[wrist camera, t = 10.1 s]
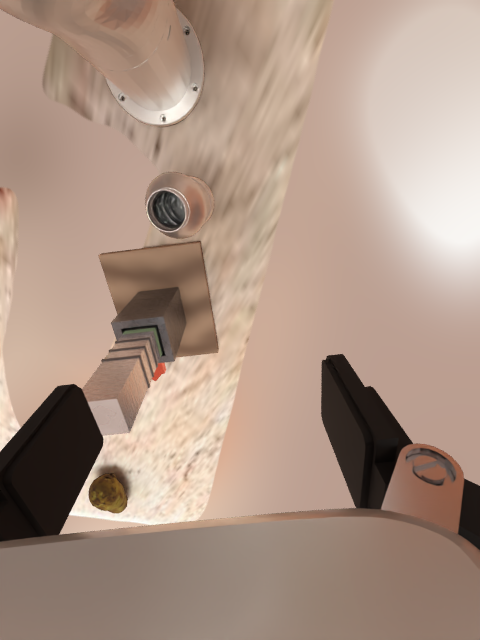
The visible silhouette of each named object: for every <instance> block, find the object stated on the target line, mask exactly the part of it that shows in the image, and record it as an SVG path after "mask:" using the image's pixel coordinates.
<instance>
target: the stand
mask: <svg viewBox="0 0 480 640" xmlns="http://www.w3.org/2000/svg"><path fill="white" fill-rule="evenodd" d="M99 259H100V262H101V265H102V268H103V271H104V274H105V277H106V280H107V284H108V286H109V290H110V293H111V296H112V299H113V302H114V305H115V308H116V311H117V314H118V315H117V316H116V318H115V319H114V320H113V321H112V322H111V324H112V327H113V330H114V333H115V336H116V339H117V341H118V340H119V338H120V337H121V336H122V334H123V333H124V331H125V330H126V329H127V328H132V327H140V326H149V325H158V329H159V332H160V336H161V340H162V344H163V348H164V350H163V353H162V355H161V358H160V360H159V363H158V367H157V368H156V370H155V372H154V377H152V379H153V380H154V381H156V380H157V379H158V378H159V377H160V376H161V374H164V373H165V371H166V367H165V364H164V362H173V361H175V358H176V357H183V356H192V355H201V354H210V353H218V349H219V348H218V342H217V336H216V331H215V325H214V319H213V313H212V307H211V301H210V295H209V289H208V283H207V278H206V272H205V266H204V260H203V254H202V248H201V242H200V241H199V242H191V243H183V244H175V245H166V246H158V247H150V248H142V249H134V250H126V251H117V252H110V253H102V254H100V255H99Z"/></svg>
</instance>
